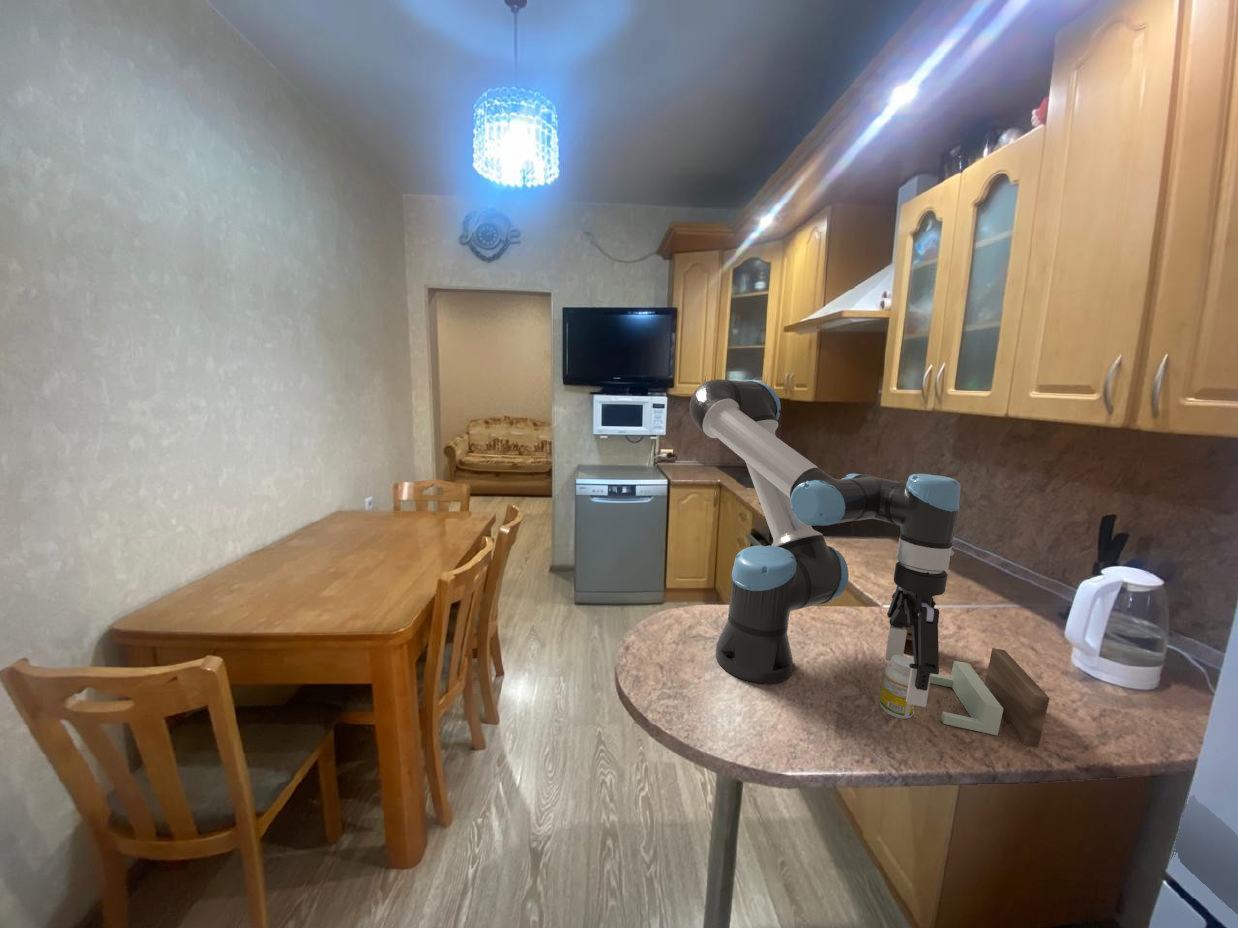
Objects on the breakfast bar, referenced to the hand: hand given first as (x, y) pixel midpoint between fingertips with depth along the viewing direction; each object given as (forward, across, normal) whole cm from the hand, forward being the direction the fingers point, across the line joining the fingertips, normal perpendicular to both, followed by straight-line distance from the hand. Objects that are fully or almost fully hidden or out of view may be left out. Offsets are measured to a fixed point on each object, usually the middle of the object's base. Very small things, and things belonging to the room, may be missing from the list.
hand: (903, 680), depth 84 cm
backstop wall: (+6, +6, -19) cm, 21 cm away
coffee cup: (+6, +25, -8) cm, 27 cm away
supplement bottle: (+6, 0, 0) cm, 6 cm away
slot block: (+6, +6, -11) cm, 14 cm away
